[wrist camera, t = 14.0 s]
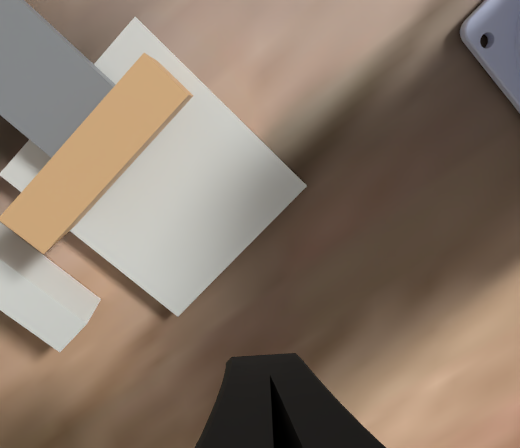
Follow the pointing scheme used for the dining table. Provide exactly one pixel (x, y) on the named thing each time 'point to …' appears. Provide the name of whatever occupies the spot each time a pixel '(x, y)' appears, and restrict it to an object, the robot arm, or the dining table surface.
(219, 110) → the vise base
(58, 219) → the sliding jaw
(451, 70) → the dining table surface
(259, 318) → the dining table surface
